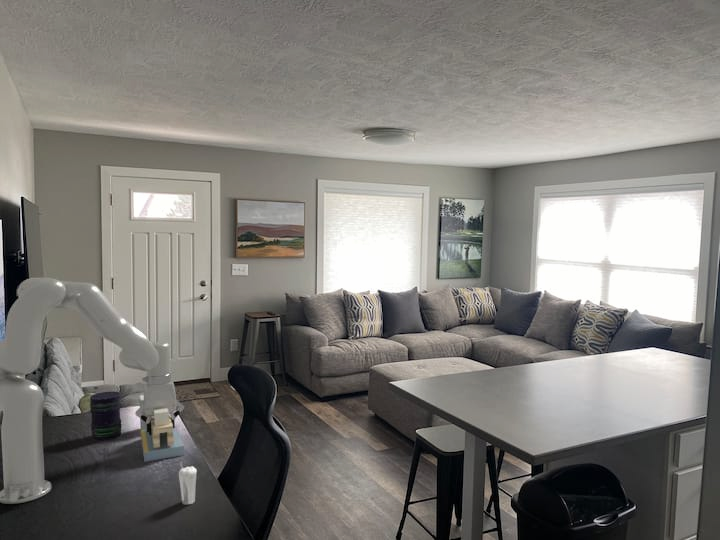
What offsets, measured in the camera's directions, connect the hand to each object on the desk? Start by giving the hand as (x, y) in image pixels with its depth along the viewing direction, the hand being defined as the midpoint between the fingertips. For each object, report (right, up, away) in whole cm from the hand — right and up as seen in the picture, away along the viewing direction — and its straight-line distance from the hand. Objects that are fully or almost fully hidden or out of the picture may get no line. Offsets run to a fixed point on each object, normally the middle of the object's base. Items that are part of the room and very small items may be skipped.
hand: (160, 431), depth 183 cm
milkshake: (+21, -7, -39) cm, 45 cm away
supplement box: (-10, -5, +18) cm, 21 cm away
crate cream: (+2, +5, -6) cm, 8 cm away
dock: (0, -5, 0) cm, 5 cm away
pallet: (0, -1, 0) cm, 1 cm away
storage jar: (-24, -5, +12) cm, 27 cm away
